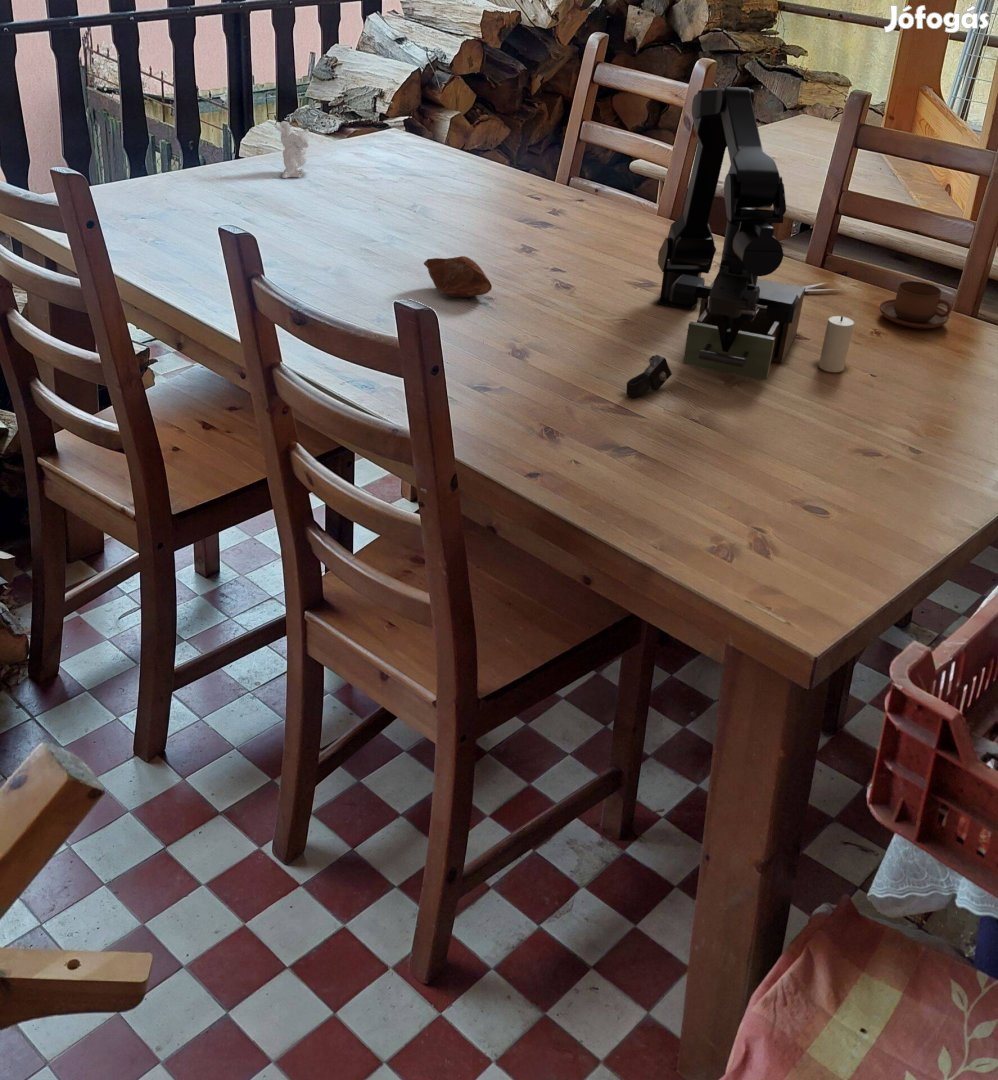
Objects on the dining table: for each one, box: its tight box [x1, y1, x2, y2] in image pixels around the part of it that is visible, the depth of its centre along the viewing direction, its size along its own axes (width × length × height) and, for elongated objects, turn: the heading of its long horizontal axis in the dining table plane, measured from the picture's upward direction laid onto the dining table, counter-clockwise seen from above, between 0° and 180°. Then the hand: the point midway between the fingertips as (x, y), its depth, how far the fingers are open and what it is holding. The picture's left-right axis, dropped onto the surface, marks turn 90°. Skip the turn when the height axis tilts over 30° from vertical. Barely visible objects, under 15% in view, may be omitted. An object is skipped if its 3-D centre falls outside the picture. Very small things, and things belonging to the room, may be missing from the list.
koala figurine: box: [274, 120, 310, 179], centre depth 267 cm, size 8×7×12 cm
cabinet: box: [698, 278, 806, 364], centre depth 197 cm, size 14×15×9 cm
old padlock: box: [626, 354, 673, 399], centre depth 179 cm, size 8×2×5 cm
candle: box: [818, 315, 855, 373], centre depth 189 cm, size 4×4×9 cm
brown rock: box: [423, 255, 493, 299], centre depth 208 cm, size 13×8×10 cm
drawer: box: [682, 306, 782, 381], centre depth 187 cm, size 17×13×7 cm
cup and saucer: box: [879, 280, 952, 330], centre depth 210 cm, size 12×12×6 cm
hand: (725, 351), depth 182 cm, fingers closed
